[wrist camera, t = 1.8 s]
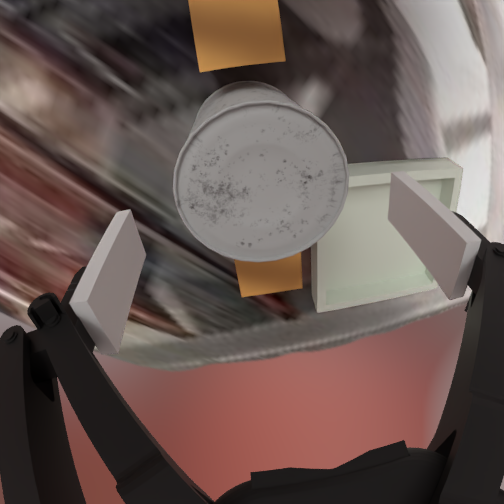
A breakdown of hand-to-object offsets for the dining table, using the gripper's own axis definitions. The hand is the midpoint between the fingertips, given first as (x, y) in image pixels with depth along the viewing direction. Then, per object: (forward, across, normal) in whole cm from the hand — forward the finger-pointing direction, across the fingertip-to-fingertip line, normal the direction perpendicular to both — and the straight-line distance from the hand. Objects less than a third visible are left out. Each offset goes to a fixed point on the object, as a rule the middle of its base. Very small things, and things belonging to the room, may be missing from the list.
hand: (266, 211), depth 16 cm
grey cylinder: (+14, 0, 0) cm, 14 cm away
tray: (+14, +13, -12) cm, 23 cm away
